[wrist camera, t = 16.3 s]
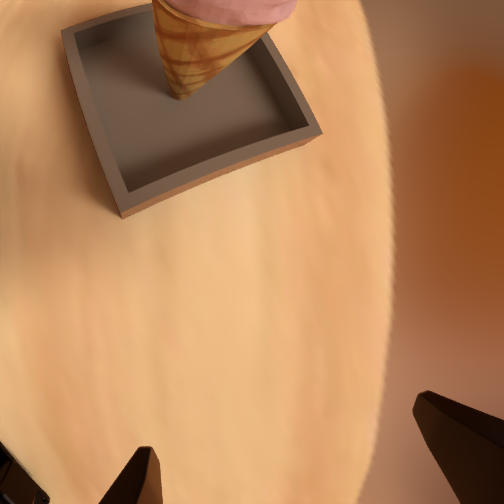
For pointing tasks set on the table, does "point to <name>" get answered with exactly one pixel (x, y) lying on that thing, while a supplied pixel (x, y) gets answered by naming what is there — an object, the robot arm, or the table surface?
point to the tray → (177, 110)
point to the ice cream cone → (209, 36)
